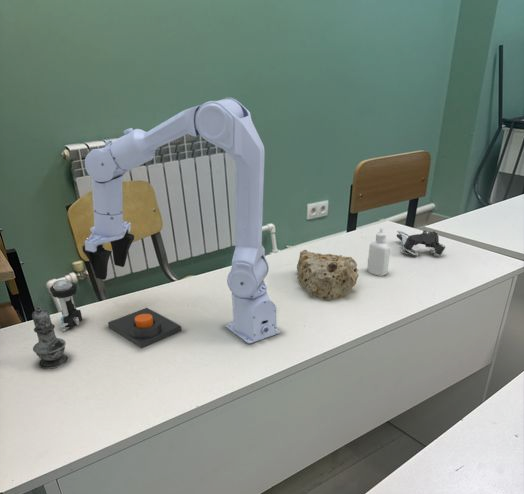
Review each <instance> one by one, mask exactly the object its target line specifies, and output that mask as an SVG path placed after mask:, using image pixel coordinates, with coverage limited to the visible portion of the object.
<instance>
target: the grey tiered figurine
mask: <svg viewBox="0 0 524 494" xmlns="http://www.w3.org/2000/svg"><path fill="white" fill-rule="evenodd" d="M31 317H32V320H33V321H32V322H33V324H34V328H33V332H35V333H36V335H37V339H38V342H37V343H35V344H34V345H33V346H32V351H33V352H34V353H35V354H36V356H37V357H38V358H39V359H41V360H40V361H38V362H39V363H38V365H39V367H40V368H41V369H44V370H45V369H46V370H53V369H57V368H58V367H61V366H63V365H65V364H66V363H68V360H69V356H68V355H66V354H64V353H65V349H66V343H67V342H66V341H65V339H63V338H60V337H57V336H56V332H55V328H56V327H55V324H53V323H52V320H51V316H50V312H49V311H48V310H47V309H44V308H41V306H40V305H37V306H36V310H34V311H32V313H31Z"/></svg>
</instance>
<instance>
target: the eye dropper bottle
mask: <svg viewBox="0 0 524 494" xmlns="http://www.w3.org/2000/svg"><path fill="white" fill-rule="evenodd" d="M386 238H387V233H385V232H384V228H380V229H379V232H377V233H376V235H375V241H372V242H370V244H369V248H368V258H367V268H366V270H367V272H368V273H369V274H372V275H375V276H378V277H383V276H386V275H387V274H388V270H389V261H390V252H391V247H390V246H389V245H388V244H387V243H386Z"/></svg>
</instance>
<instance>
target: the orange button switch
mask: <svg viewBox="0 0 524 494" xmlns="http://www.w3.org/2000/svg"><path fill="white" fill-rule="evenodd" d="M140 314H150V315H152V317H153V326H151V327H148V328H137V327H136V324H135V317H136V316H137V315H140ZM107 326H108V329H110V330H112V331H113V332H115V333H116V334H118V335H120V336H121V337H122V338H123V339H125V340H127V341H129V342H131V343H132V344H133V345H135V346H136V347H138V348H140V349H143V348H145V347H148V346H151V345H153V344H155V343H158V342H159V341H162V340H165V339H167V338H169V337H172V336H174V335H176V334H179V333H181V332H182V325H181V324H179V323H176V322H174V321H173V320H171V319H169V318H167V317H166V316H163V315H162V314H160V313H158V312H156V311H155V310H152V309H150V308H148V307H145V308H142V309H139V310H137V311H134V312H131V313H128V314H126V315H124V316H120V317H118V318H116V319H113V320H110V321H108V322H107Z"/></svg>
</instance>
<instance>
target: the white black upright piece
mask: <svg viewBox="0 0 524 494" xmlns="http://www.w3.org/2000/svg"><path fill="white" fill-rule="evenodd" d="M77 286H78V285H77V284H76V283H75V282H72V280H70V279H67V278H66V279H65V278H64V279H59V280H55V281H53V283H52V286H50V287H49V291H50V293H51V295H52V297H53V298H56V299H58V300H59V303H60V308H61V311H60V312H61V314H62V315H61V317H60V322H61V325H60V328H62V329H61V332H65V331H66V330H72V329H73V328H74V327H75V326H79V325H80V322H82V321H83V315H82V310H81V309H77V308H76V305H75V302H74V301H75V300H74V298H73V297H74V296H75V295H76V293H77V291H78V290H77Z"/></svg>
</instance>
